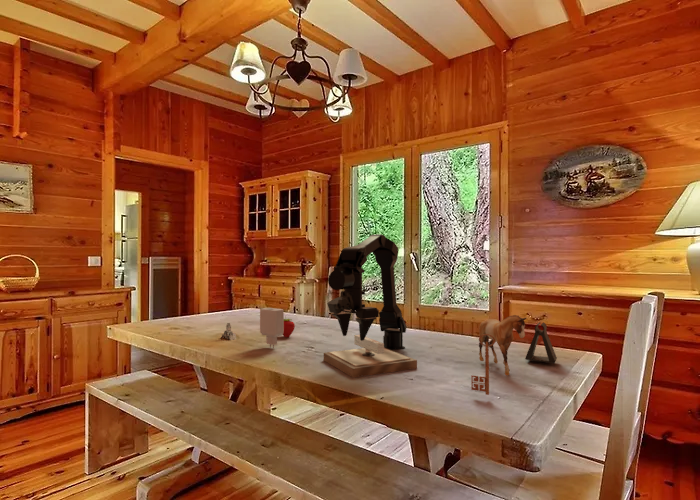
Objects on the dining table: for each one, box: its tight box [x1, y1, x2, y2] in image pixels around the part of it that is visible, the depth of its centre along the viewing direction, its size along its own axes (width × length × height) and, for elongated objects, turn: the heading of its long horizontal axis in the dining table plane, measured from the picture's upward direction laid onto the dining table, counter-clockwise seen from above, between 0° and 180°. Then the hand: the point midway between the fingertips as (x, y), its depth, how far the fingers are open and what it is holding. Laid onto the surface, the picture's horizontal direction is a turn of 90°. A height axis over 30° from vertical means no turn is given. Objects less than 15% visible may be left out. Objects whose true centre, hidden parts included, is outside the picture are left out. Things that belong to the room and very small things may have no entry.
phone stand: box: [524, 322, 558, 364], centre depth 138 cm, size 9×6×12 cm, turn 58°
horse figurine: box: [478, 314, 527, 376], centre depth 129 cm, size 26×6×17 cm, turn 5°
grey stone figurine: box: [220, 322, 237, 341], centre depth 171 cm, size 9×9×8 cm
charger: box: [259, 307, 285, 349], centre depth 154 cm, size 5×9×15 cm, turn 52°
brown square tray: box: [323, 347, 418, 379], centre depth 132 cm, size 22×22×3 cm
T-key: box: [353, 334, 384, 354], centre depth 132 cm, size 16×2×5 cm, turn 26°
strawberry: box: [282, 318, 296, 338], centre depth 174 cm, size 6×8×10 cm
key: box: [470, 334, 496, 396], centre depth 103 cm, size 6×1×15 cm, turn 63°
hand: (353, 338), depth 128 cm, fingers open, 9 cm apart
